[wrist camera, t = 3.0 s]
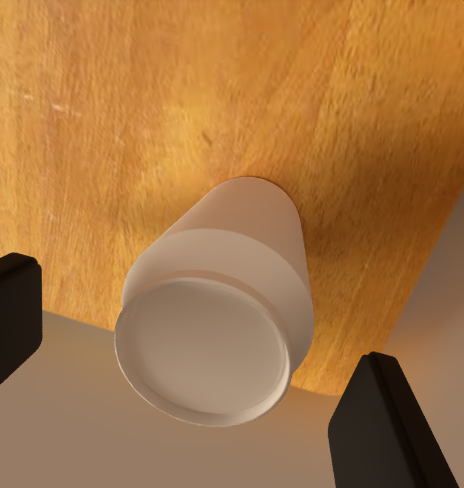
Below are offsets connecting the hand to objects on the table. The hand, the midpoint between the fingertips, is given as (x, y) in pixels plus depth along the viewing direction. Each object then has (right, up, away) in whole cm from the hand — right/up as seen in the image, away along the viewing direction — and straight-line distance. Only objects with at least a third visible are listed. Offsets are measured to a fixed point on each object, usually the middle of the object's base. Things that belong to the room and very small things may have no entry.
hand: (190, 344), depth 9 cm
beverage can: (+2, +4, +11) cm, 12 cm away
